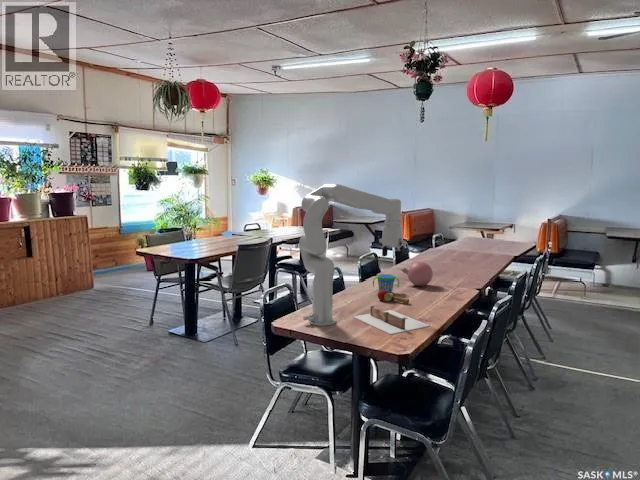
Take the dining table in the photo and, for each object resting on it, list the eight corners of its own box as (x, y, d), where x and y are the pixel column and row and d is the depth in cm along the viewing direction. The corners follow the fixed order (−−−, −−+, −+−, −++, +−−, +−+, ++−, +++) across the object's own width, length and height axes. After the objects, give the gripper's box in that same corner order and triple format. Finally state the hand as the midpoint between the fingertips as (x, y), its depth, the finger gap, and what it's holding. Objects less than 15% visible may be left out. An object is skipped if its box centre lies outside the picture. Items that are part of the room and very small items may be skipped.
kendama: (410, 304, 260) (381, 295, 269) (411, 294, 258) (381, 285, 267) (404, 310, 254) (374, 301, 263) (405, 300, 252) (375, 291, 261)
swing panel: (386, 320, 225) (386, 311, 225) (384, 320, 225) (384, 311, 224) (372, 314, 235) (372, 305, 235) (369, 314, 234) (369, 306, 234)
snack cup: (398, 290, 285) (398, 274, 284) (399, 295, 275) (400, 278, 274) (372, 290, 287) (372, 273, 285) (372, 294, 276) (372, 277, 275)
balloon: (404, 281, 310) (404, 258, 308) (434, 284, 302) (435, 260, 299) (397, 286, 297) (397, 262, 294) (428, 289, 288) (429, 264, 286)
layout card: (390, 334, 208) (390, 333, 208) (353, 317, 233) (353, 316, 232) (429, 326, 219) (429, 325, 219) (390, 310, 244) (390, 309, 244)
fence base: (402, 329, 213) (403, 319, 212) (384, 321, 224) (384, 312, 224) (405, 329, 214) (405, 319, 213) (387, 321, 225) (387, 311, 225)
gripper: (375, 222, 241) (374, 255, 244) (401, 225, 228) (400, 260, 231) (384, 221, 246) (383, 254, 249) (411, 224, 233) (410, 258, 236)
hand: (392, 257), depth 240 cm, fingers open, 9 cm apart
